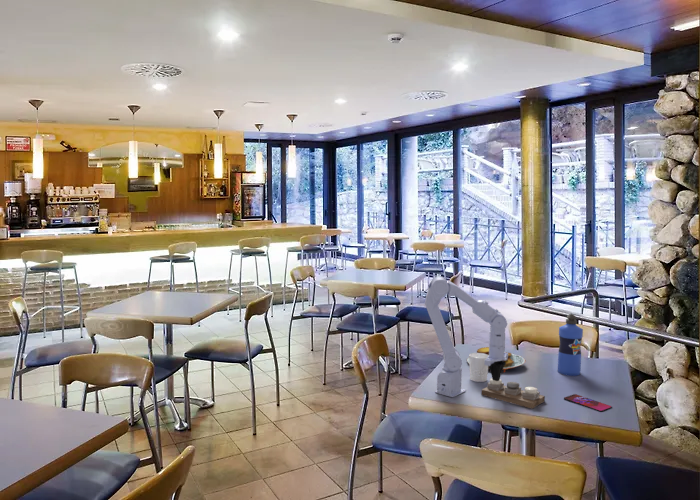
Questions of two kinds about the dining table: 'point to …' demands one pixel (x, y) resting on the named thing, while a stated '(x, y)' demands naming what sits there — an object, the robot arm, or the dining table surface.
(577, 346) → the water bottle
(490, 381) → the left knob
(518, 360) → the food on plate
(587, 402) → the smartphone
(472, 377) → the white cup
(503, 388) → the knob mount
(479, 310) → the robot arm
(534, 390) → the right knob
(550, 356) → the dining table surface
